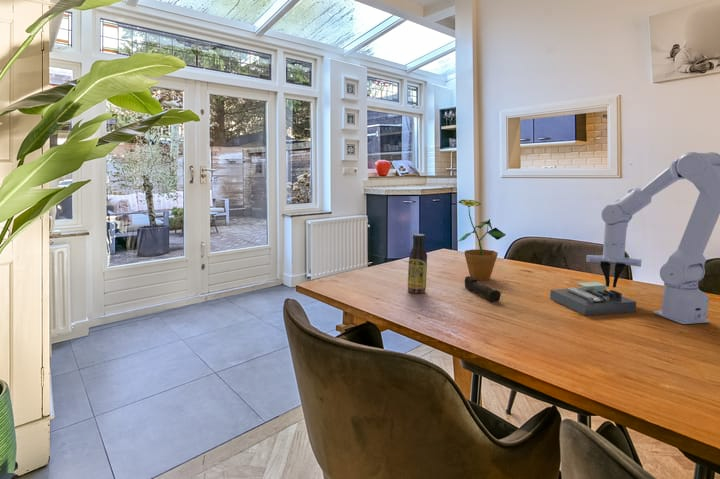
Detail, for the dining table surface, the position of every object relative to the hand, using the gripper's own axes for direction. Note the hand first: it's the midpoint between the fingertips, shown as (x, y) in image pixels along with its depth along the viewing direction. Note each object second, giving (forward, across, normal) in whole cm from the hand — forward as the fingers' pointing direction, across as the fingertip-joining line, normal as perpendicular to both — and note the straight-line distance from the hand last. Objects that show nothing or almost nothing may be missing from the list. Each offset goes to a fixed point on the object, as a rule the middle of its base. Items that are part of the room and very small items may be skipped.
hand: (611, 286), depth 130 cm
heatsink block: (+4, -4, -10) cm, 12 cm away
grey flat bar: (+1, -6, -12) cm, 14 cm away
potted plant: (+4, -43, +4) cm, 44 cm away
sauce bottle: (+4, -55, -25) cm, 61 cm away
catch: (+1, -5, -5) cm, 7 cm away
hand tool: (+4, -36, -17) cm, 41 cm away
